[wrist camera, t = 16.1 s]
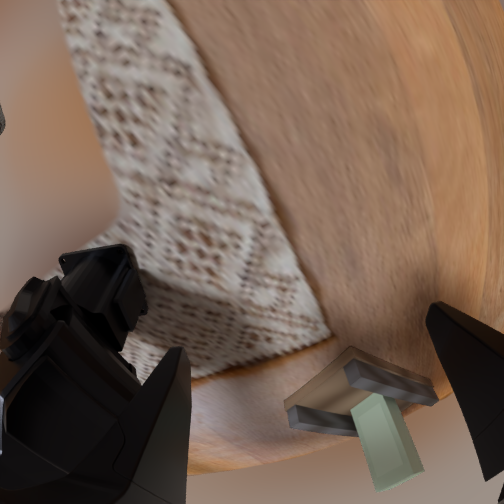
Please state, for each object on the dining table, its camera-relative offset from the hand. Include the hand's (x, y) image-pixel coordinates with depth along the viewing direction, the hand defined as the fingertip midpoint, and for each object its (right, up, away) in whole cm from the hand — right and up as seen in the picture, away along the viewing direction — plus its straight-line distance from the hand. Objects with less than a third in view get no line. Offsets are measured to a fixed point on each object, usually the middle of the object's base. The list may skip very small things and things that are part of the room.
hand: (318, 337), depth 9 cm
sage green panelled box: (+13, -16, +22) cm, 30 cm away
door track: (+13, -15, +23) cm, 31 cm away
